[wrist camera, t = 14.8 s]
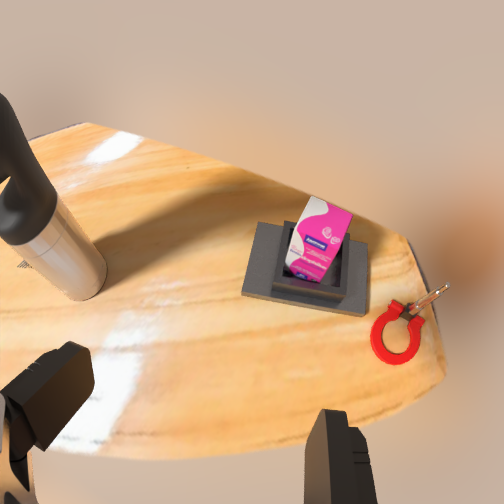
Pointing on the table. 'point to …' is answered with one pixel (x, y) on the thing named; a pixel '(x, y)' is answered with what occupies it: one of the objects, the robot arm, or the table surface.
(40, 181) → the robot arm
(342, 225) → the supplement box
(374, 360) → the table surface
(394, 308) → the tow hook
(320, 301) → the socket plate
